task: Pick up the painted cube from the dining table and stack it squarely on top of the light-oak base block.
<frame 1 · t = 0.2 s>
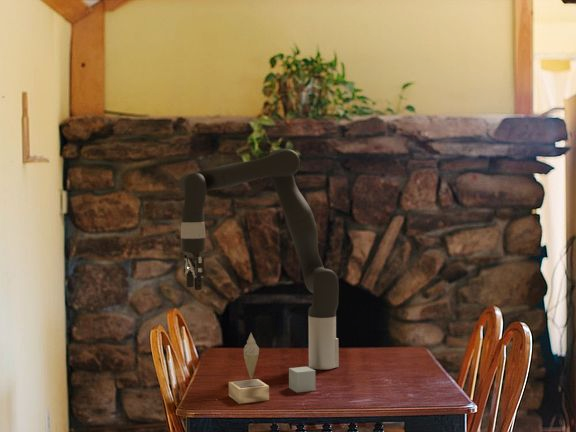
hand: (193, 288, 241), 29 cm above the table, fingers open, 8 cm apart
ice cream cone: (251, 380, 242), on the table
base: (248, 397, 220), on the table
cube: (302, 389, 230), on the table
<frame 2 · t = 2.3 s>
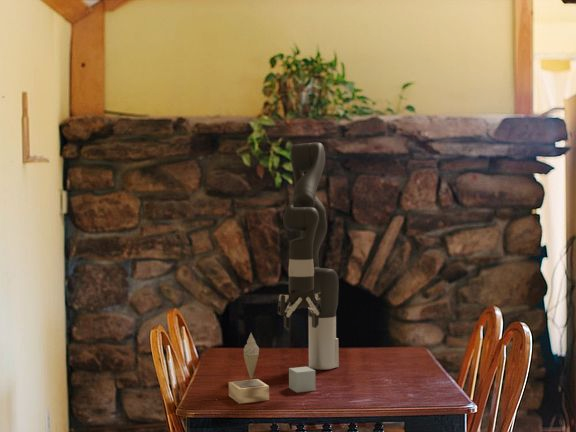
hand: (301, 328, 230), 18 cm above the table, fingers open, 8 cm apart
nothing on the table moved.
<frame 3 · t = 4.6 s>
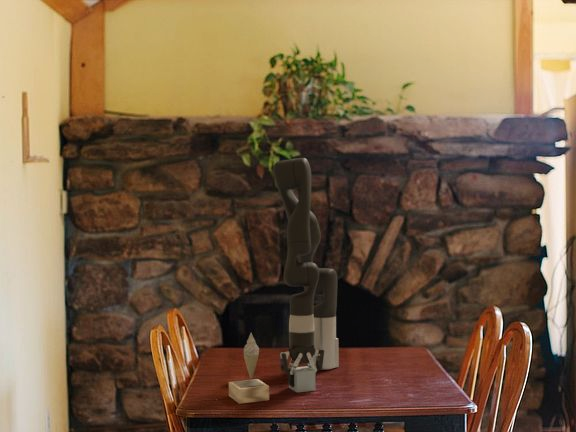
hand: (302, 385, 230), 1 cm above the table, fingers closed on cube, 6 cm apart
cube: (302, 389, 230), on the table, touching gripper
everything else where it was.
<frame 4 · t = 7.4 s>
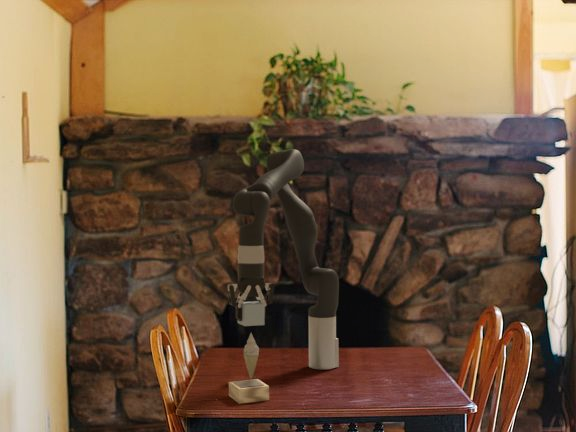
hand: (250, 319, 220), 22 cm above the table, fingers closed on cube, 6 cm apart
cube: (250, 324, 220), point 21 cm above the table, touching gripper
everything else where it was.
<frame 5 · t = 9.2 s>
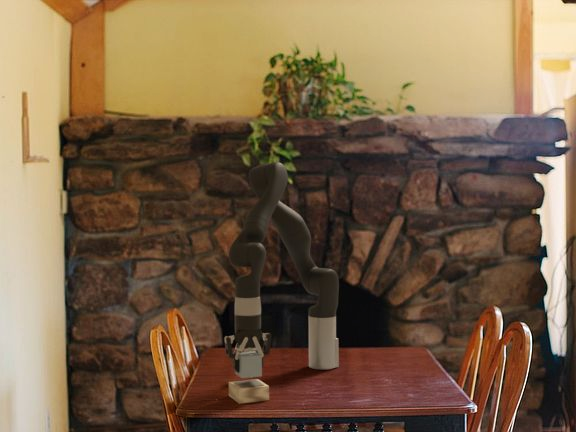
hand: (248, 370, 220), 8 cm above the table, fingers closed on cube, 6 cm apart
cube: (248, 374, 220), point 7 cm above the table, touching gripper
everything else where it was.
when the fingers open (6 cm above the table, at t = 10.4 s): cube stays where it is, resting on base.
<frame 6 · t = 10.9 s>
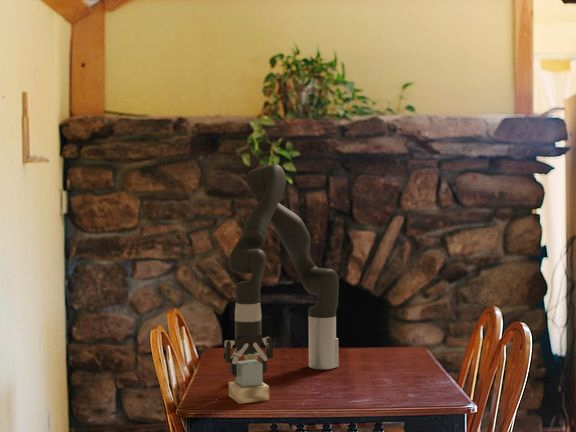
hand: (248, 375, 220), 7 cm above the table, fingers open, 8 cm apart
cube: (249, 383, 220), point 4 cm above the table, touching base
everything else where it was.
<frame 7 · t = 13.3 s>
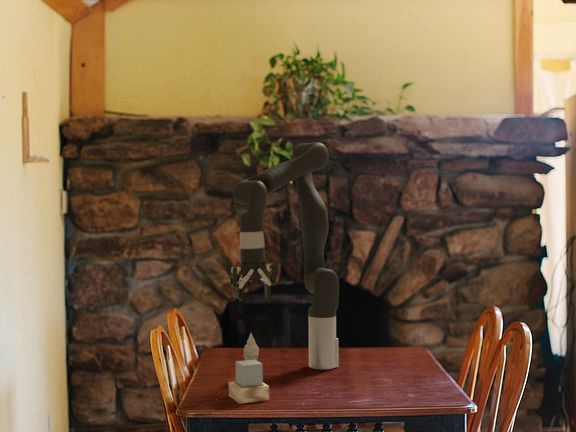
hand: (254, 299, 235), 26 cm above the table, fingers open, 8 cm apart
nothing on the table moved.
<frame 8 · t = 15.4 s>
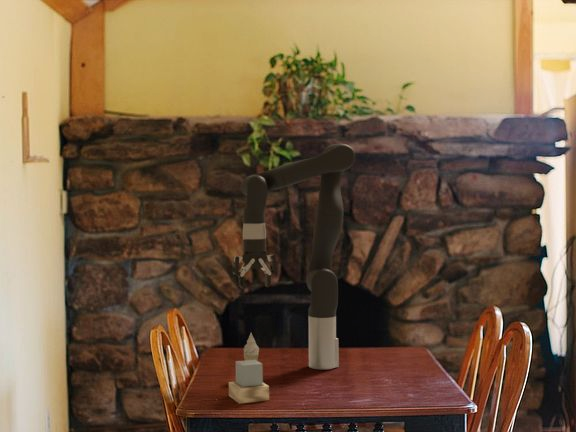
hand: (254, 287, 249), 28 cm above the table, fingers open, 8 cm apart
nothing on the table moved.
at the end: cube inside the target area on the base (0.1 cm from its centre), point 4.2 cm above the base's base; cube tilted 0°; the gripper is holding nothing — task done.
